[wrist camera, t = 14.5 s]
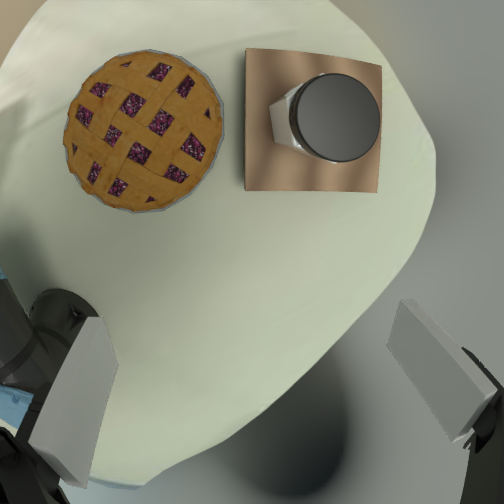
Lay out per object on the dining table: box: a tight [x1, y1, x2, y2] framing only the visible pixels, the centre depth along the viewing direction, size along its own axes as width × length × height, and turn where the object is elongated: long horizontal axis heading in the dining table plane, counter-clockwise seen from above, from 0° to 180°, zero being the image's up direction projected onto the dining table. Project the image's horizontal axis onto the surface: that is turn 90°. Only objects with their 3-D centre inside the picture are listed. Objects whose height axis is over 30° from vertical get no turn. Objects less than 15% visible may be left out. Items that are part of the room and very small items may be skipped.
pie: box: [63, 49, 224, 213], centre depth 35 cm, size 22×22×5 cm
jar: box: [269, 73, 380, 164], centre depth 29 cm, size 9×8×12 cm
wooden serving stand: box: [244, 48, 382, 193], centre depth 37 cm, size 18×18×5 cm
